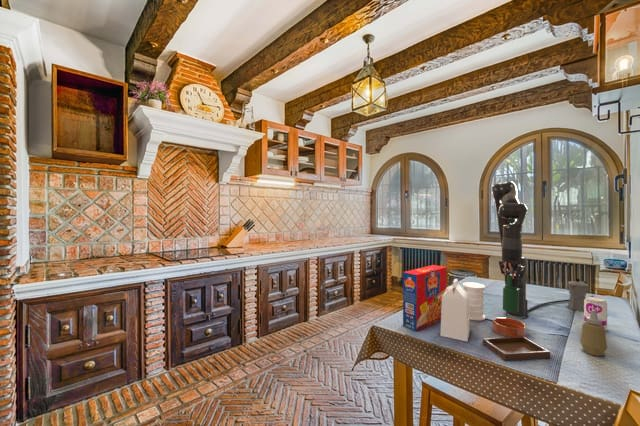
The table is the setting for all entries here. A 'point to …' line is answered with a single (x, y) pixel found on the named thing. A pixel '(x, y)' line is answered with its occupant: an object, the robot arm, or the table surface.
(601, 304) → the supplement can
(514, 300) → the bottle
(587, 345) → the squeeze bottle
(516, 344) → the tray
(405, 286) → the pasta box
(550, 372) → the table surface
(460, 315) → the milk
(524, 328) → the bowl
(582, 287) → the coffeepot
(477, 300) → the decorative container
